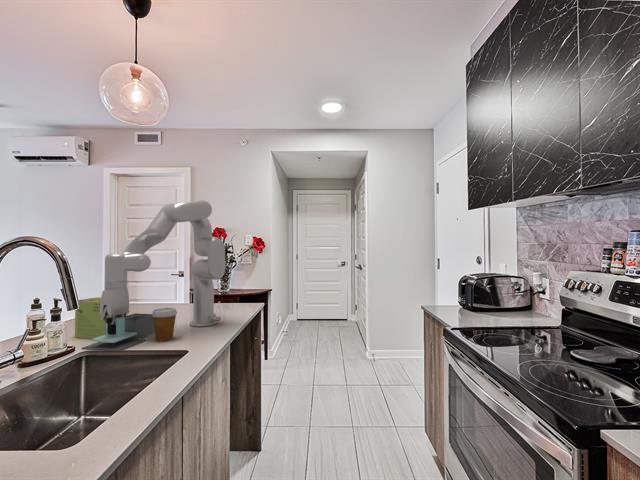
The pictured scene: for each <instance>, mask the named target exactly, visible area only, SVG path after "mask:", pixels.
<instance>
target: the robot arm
mask: <svg viewBox="0 0 640 480" xmlns="http://www.w3.org/2000/svg"><path fill="white" fill-rule="evenodd" d="M212 213H213V208H212V205H211V203H210V202H208V201H206V200H195V201H193V200H192V201H191V200H190V201H187V202H176V203H175V202H174V203H167V204H165V205H164V206H163V207H162V208H161V209H160V210H159V212H157V214H156V215H155V217H154V218H153V219H152V221H151V222H150V224H149V225H148V226H147V228H146V229H145V230H144V231H143V232H141V233H140V234H139V235H137V237H135V238H134V239H133V240H132V241H131V242H129V244H128V245H127V246H126V248H125V249H124V250H123V252H122V253H110V254H109V253H108V254H106V255H105V256H104V285H103V286H104V290H102V292H101V295H100V297H101V302H100V316H101V318H100V319H101V320H103V321H105V322H106V324H108V330H107V334H110V335H115V334H116V324H114V323H115V316H116V317H126V316H128V315H129V313H130V310H129V309H130V295H129V289H128V272H138V273H140V272H144V271H146V270H148V269H149V268H150V266H151V263H152V262H151V259H150V256H149V255H147V254H145V253H146V252H148V251H149V249H152V248H153V247H154V246H157V245H159V244H161V243H162V242H164V241H165V240H166V239H167V237H168V236H169V235H170V233H171V232H172V230H173V228H174V227H176V225H177V223H184V222H185V223H186V222H187V223H188V222H190V224H191V226H192V229H193V250H194V253H195V255H196V256H199V257H206V258H207V259H206V258H202V259H197V260H196V261H194V262H193V264H192V266H191V276H192V282H193V285H192V287H193V291H192V293H193V304H192V305H193V306H192V307H193V309H192V310H193V313H192V319H193V320H191V321H190V322H189V326H191V327H197V328H198V327H199V328H200V327H210V326H214V325H216V324H217V323H218V322H221V321H222V320H221V319H222V318H221V316H217V313H214V312H215V306H214V305H215V301H214V300H215V285H214V282H213V280H214V281H215V280H216V281H217V280H220V279H221V278H222V277H223V276H224V275H225V272H226V248H225V244H224V242H223V240H222V239H221V238H219V237H216V236H213V231H212V230H213V229H212V223H211V221H210V219H209V217H210V216H211V215H212ZM119 315H120V316H119ZM110 318H111V319H110Z"/></svg>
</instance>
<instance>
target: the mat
mask: <svg viewBox="0 0 640 480" xmlns="http://www.w3.org/2000/svg"><path fill="white" fill-rule="evenodd" d="M146 341H147V339H143V338H140V339H123V340H120V341H118V342H115V343H109V342H94V343H91V344H89V345H85V346H84V347H83V346H82V347H81V350H92V351H94V350H95V351H104V352H118V353H119V352H122V351H124V350H127V349H130V348H132V347H134V346H137V345H139V344H142V343H143V342H146Z"/></svg>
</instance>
